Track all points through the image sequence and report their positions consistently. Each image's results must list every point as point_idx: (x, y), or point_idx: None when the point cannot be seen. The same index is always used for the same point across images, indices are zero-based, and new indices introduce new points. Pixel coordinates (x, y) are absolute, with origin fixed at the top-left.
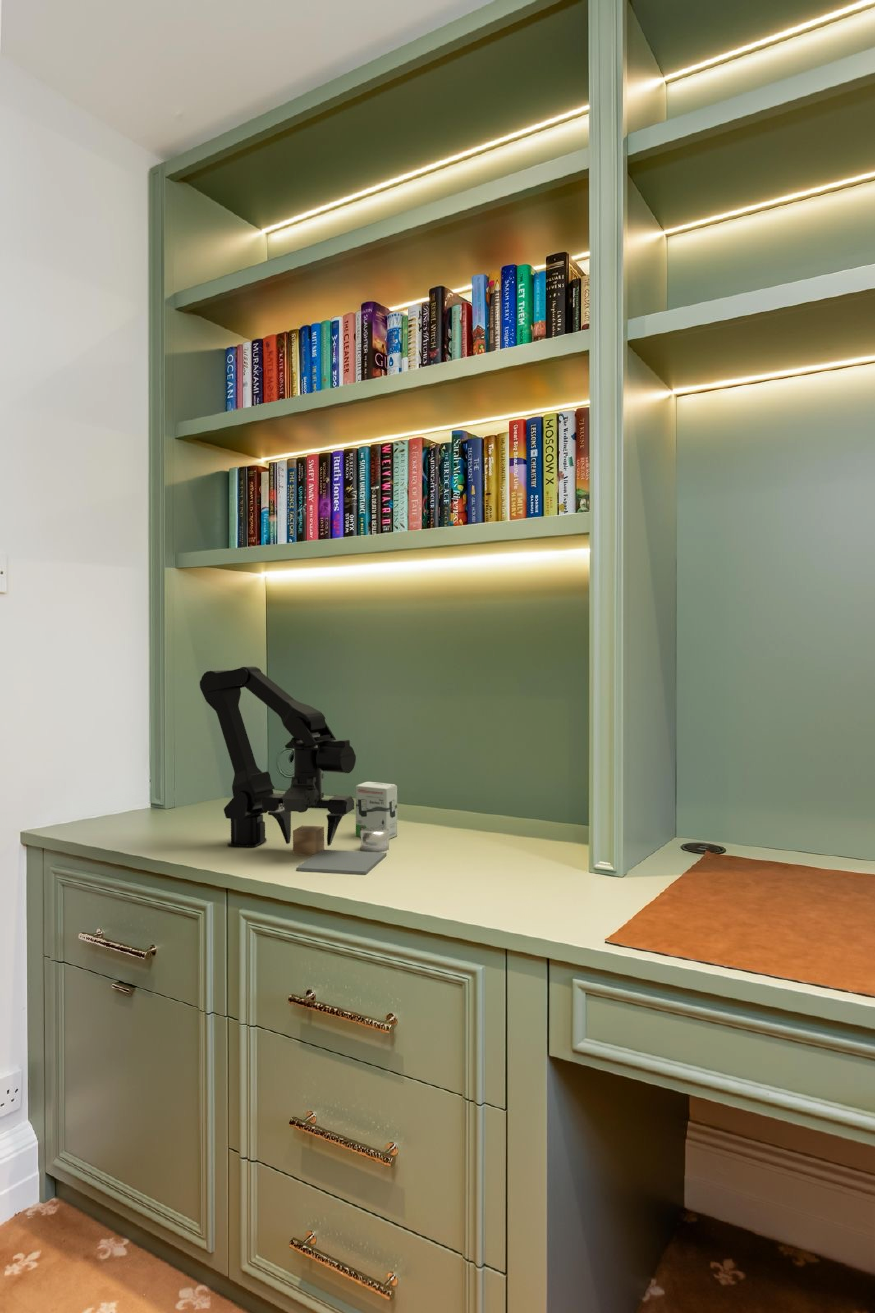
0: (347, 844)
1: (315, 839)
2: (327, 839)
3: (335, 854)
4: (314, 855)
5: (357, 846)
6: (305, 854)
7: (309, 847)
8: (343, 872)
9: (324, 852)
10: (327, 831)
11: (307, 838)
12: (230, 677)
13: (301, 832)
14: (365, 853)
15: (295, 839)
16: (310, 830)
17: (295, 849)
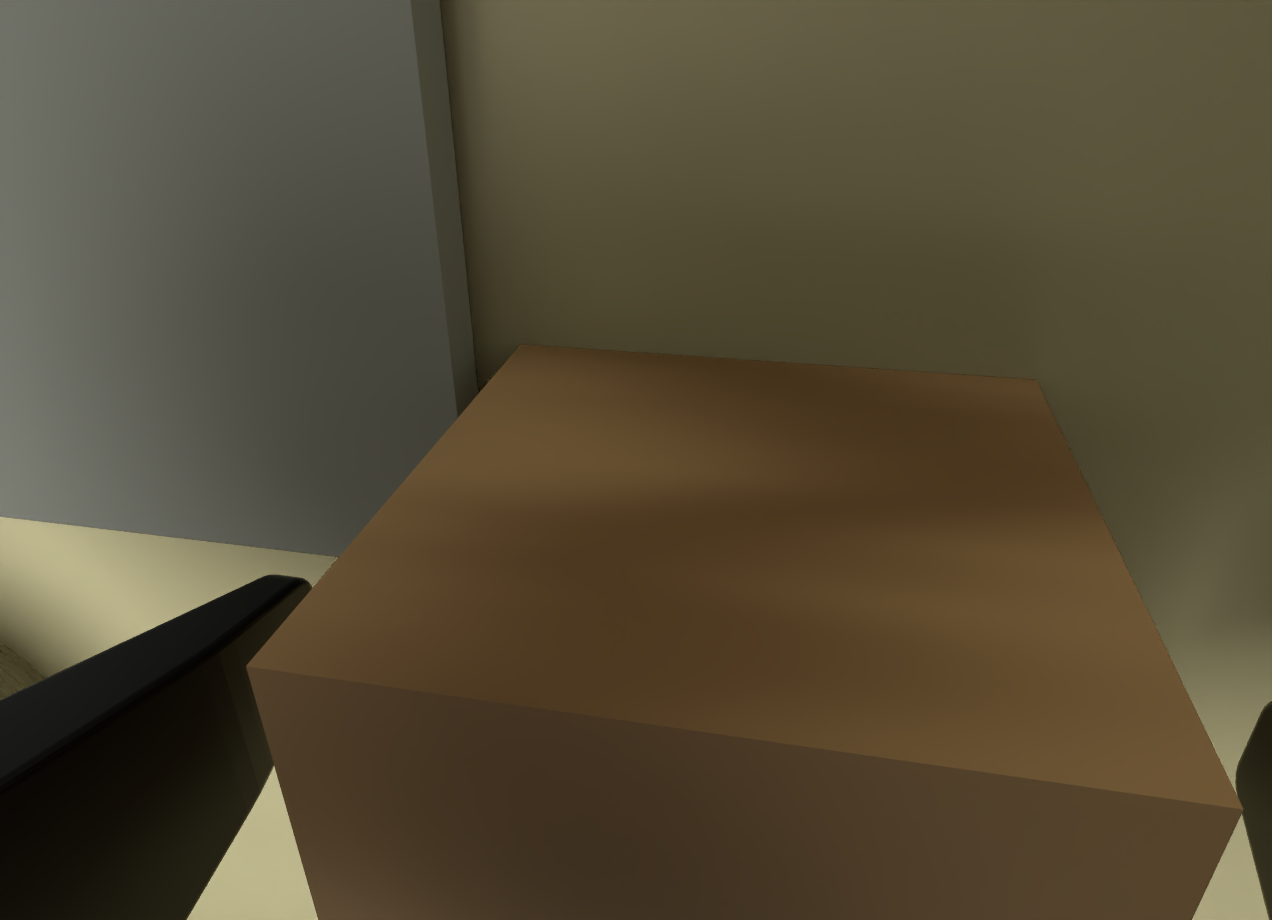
0: None
1: (380, 518)
2: (209, 638)
3: (58, 260)
4: (407, 111)
5: None
6: (739, 364)
7: (616, 426)
8: None
9: (332, 383)
10: (30, 771)
11: (614, 548)
12: None
13: (814, 709)
14: None
15: (1035, 566)
16: (514, 828)
17: (989, 420)
